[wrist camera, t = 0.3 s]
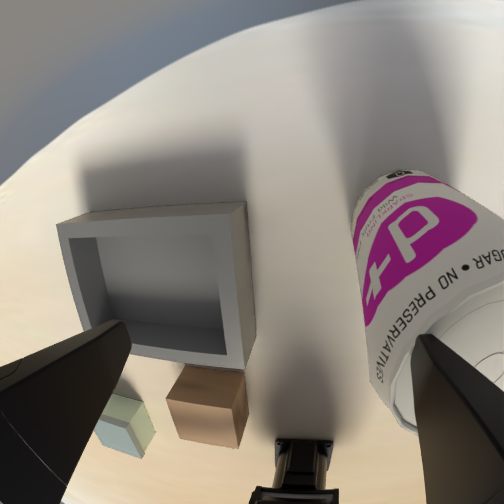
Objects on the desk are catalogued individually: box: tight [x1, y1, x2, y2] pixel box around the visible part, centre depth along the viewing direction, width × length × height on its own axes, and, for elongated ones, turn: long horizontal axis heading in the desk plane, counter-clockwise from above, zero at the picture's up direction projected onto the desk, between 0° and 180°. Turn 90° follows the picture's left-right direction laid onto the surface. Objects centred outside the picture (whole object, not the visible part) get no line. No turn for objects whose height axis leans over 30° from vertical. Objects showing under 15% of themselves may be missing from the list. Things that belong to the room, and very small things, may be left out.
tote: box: [56, 202, 256, 369], centre depth 24 cm, size 11×15×4 cm
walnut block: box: [166, 366, 249, 449], centre depth 27 cm, size 6×6×5 cm
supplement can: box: [351, 170, 504, 436], centre depth 14 cm, size 8×8×15 cm
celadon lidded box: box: [94, 394, 156, 459], centre depth 32 cm, size 6×6×5 cm
